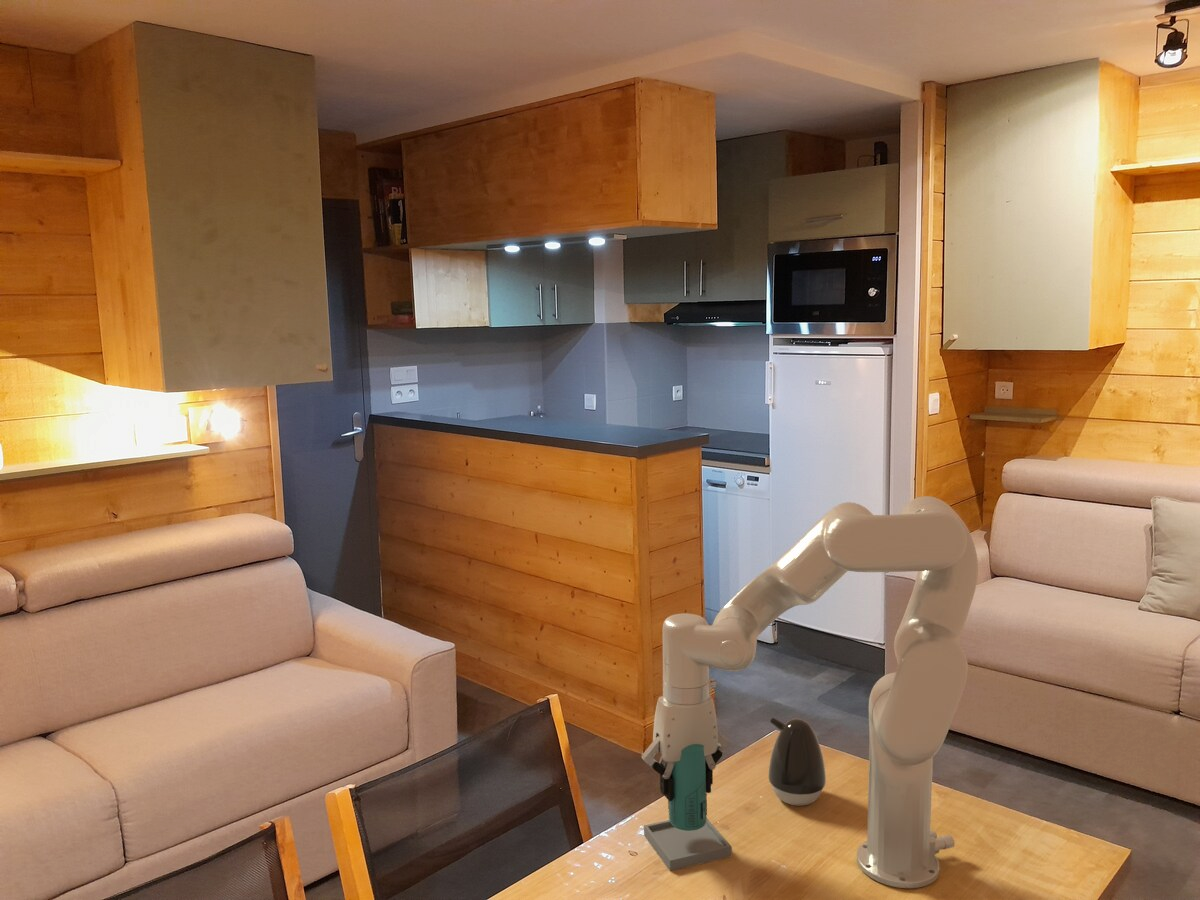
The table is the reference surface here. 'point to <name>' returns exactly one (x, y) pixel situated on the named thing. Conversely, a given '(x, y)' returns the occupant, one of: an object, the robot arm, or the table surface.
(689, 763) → the beverage bottle
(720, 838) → the tray
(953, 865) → the table surface
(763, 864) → the table surface
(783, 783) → the pump dispenser
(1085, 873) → the table surface
